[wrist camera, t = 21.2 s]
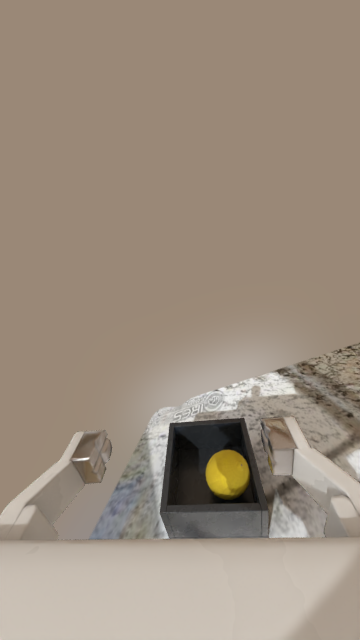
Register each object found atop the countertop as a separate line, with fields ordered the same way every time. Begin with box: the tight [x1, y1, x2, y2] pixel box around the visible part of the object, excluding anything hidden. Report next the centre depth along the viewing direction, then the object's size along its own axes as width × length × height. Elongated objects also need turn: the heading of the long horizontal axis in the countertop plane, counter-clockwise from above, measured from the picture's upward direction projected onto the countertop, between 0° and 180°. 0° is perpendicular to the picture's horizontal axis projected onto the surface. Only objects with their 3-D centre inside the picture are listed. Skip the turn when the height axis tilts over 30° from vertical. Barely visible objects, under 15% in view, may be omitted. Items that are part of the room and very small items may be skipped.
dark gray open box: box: [160, 418, 268, 539], centre depth 32 cm, size 13×13×7 cm
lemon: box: [206, 450, 250, 500], centre depth 30 cm, size 6×6×8 cm
